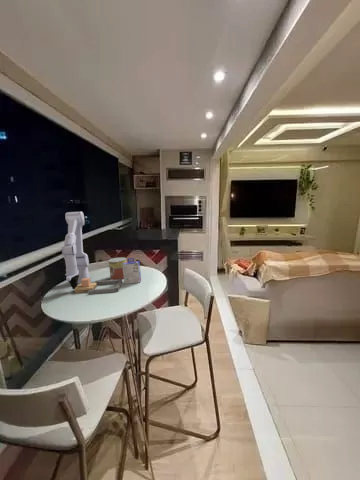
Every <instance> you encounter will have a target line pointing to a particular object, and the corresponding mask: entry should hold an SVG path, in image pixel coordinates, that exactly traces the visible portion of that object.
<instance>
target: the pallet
mask: <svg viewBox="0 0 360 480" xmlns="http://www.w3.org/2000/svg"><path fill="white" fill-rule="evenodd" d="M97 286H98V285H97V284H96V283H95V282H91V285H90V286H89V287H82V285H81V283H78V284H77V287H76V288H75V289H74V294H78V293H80V294H81V293H88V291H89V290H94V289H97Z"/></svg>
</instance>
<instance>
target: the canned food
mask: <svg viewBox="0 0 360 480" xmlns="http://www.w3.org/2000/svg"><path fill="white" fill-rule="evenodd" d="M107 262H108V266H109V267H108V268H109V276H110V277H109V278H110V279H109V280H119V279H122V281H124V275H123V266H122V265H123V263H124V262H128V260H127V258H126V257H125V256H123V257H114V258H110V259H108V261H107Z"/></svg>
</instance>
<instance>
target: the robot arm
mask: <svg viewBox="0 0 360 480" xmlns="http://www.w3.org/2000/svg"><path fill="white" fill-rule="evenodd" d="M64 215H65V221H66V224H67V225H68V226H67V234H66V235H65V238H64V245H63V246H62V247H61V253H62V256H63V259H64V262H65V263H64V264H65V269H66V273H65V274H64V276H66V277H65V279H66V282H68V283H69V284H70V287H71V288H72V290H75V288H76V287H77V286H78V284H81V280H82V279H83V278H90V279H91V278H92V276H91V277H90V271H89V268H88V266H89V265H90V260H89V255H88V254H87V253H85V252H84V246H83V232H82V231H83V226H85V215H84V212H83V211H69V212H66V213H65V214H64Z"/></svg>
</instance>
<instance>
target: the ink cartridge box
mask: <svg viewBox="0 0 360 480" xmlns="http://www.w3.org/2000/svg"><path fill="white" fill-rule="evenodd" d="M122 266H123V275H124V279H123V283H124V284H126V285H127V284H134V283H135V284H136V283H137V284H138V283H141V281H142V274H141V264H140V260H138V261H137V260H135V258H133V257H129V258H127V262H124V263H123V265H122Z"/></svg>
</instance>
